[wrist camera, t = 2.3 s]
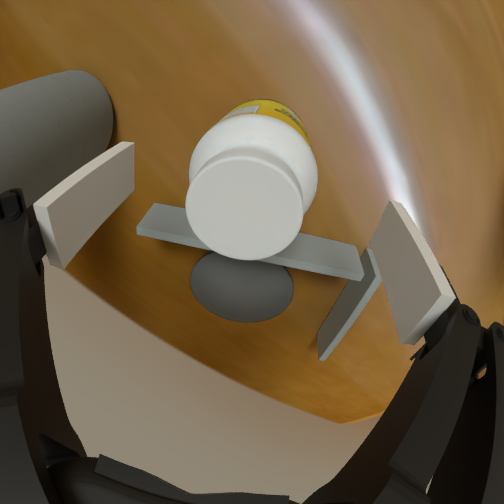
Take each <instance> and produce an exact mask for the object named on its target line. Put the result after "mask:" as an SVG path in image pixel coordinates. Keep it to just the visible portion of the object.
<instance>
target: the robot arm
mask: <svg viewBox="0 0 504 504" xmlns="http://www.w3.org/2000/svg"><path fill="white" fill-rule="evenodd" d="M133 191H134V143H132V142H120V143H119V144H117V145H115V146H114V147H112V148H110V149H109V150H107V151H106V152H104V153H102V154H101V155H99V156H98V157H96V158H95V159H93V160H92V161H90V162H89V163H87V164H86V165H84V166H83V167H81V168H80V169H78V170H77V171H75V172H74V173H73V174H71V175H70V176H69V177H67V178H66V179H64V180H63V181H62V182H60V183H58V184H57V185H55V186H54V187H53V188H52V189H51V190H49V191H48V192H46V193H45V195H43V196H41V197H40V198H39V199H38V200H37V201H35V202H34V203H33V204H32V205H31V206H29V207H28V208H26V204H25V200H24V196H23V191H22V189H20V188H13V189H9V190H7V191H5V192H3V193H1V194H0V504H299V503H296V502H294V501H291V500H289V496H285V495H283V496H282V495H265V494H253V493H243V492H241V493H240V492H239V493H237V492H235V493H232V492H231V493H210V494H192V493H188V492H186V491H184V490H182V489H180V488H178V487H176V486H174V485H172V484H170V483H168V482H166V481H164V480H162V479H161V478H159V477H157V476H154V475H152V474H150V473H148V472H145V471H143V470H140V469H137V468H135V467H132V466H129V465H126V464H124V463H121V462H118V461H116V460H113V459H111V458H109V457H106V456H104V455H102V454H100V455H99V458H96V457H87V455H86V452H85V450H84V447H83V445H82V443H81V441H80V439H79V437H78V435H77V434H76V432H75V431H74V429H73V428H72V426H71V424H70V422H69V419H68V417H67V413H66V410H65V407H64V403H63V399H62V396H61V392H60V388H59V384H58V380H57V375H56V370H55V366H54V360H53V355H52V349H51V343H50V337H49V329H48V321H47V312H46V301H45V285H44V265H43V262H42V258H43V256H44V255H45V254H46V253H47V256H48V259H49V262H50V265H53V266H55V267H58V268H61V269H65V267H66V266H67V265H68V263H69V262H70V261H71V260H72V258H73V257H74V256H75V255H76V254H77V252H78V251H79V250H80V249H81V248H82V246H83V245H84V244H85V243H86V242H87V240H88V239H89V238H90V237H91V236H92V235H93V234H94V232H95V231H96V230H97V229H98V228H99V227H100V226H101V225H102V224H103V222H104V221H105V220H106V219H107V218H108V217H109V216H110V215H111V214H112V213H113V212H114V211H115V210H116V209H117V207H118V206H119V205H120V204H121V203H122V202H123V201H124V200H125V199H126V198H127V197H128V196H129V195H130V194H131V193H132V192H133ZM369 243H370V246H371V248H372V251H373V254H374V257H375V260H376V263H377V265H378V268H379V271H380V274H381V277H382V281H383V284H384V287H385V290H386V293H387V297H388V300H389V303H390V307H391V310H392V314H393V317H394V321H395V325H396V329H397V332H398V336H399V340H400V344H411V345H415V344H416V343H417V342H418V341H419V340H420V339H421V338H422V337H423V335H424V338H425V341H426V343H425V344H424V345H423V346H422V347H421V348H420V349H419V350H418V351H417V352H416V353H415V354H414V355H413V356H412V357H411V358H410V360H411V361H412V360H413V359H414V358H415V360H414V362H413V364H412V366H411V368H410V370H409V372H408V373H407V375H406V377H405V379H404V381H403V382H402V384H401V386H400V388H399V389H398V391H397V393H396V394H395V396H394V398H393V399H392V401H391V402H390V404H389V406H388V407H387V409H386V410H385V412H384V413H383V415H382V416H381V418H380V420H379V421H378V422H377V424H376V425H375V427H374V428H373V430H372V431H371V432H370V434H369V435H368V436H367V438H366V439H365V441H364V442H363V444H362V445H361V446H360V447H359V448H358V450H357V451H356V452H355V454H354V455H353V456H352V457H351V459H350V460H349V461H348V462H347V463H346V465H345V466H344V467H343V468H342V469H341V470H340V472H339V473H338V474H337V475H336V476H335V477H334V478H333V479H332V480H331V481H330V482H329V483H327V484H325V485H324V486H322V487H321V488H319V489H318V490H317V491H316V492H314V493H313V494H312V495H311V496H310V497H308V498H307V499H306V500H305V502H303V503H302V504H504V326H502V325H501V324H500V323H498V322H493V324H492V325H491V326H490V327H489V328H488V329H486V328H484V327H482V326H481V323H480V320H479V317H478V316H477V314H476V313H475V312H474V311H473V309H472V308H470V307H469V306H467V305H465V304H460V301H459V299H458V297H457V295H456V293H455V291H454V289H453V287H452V285H451V284H450V281H449V279H448V277H446V276H447V275H446V273H445V272H444V270H443V268H442V266H441V265H440V264H439V263H438V262H437V260H436V258H435V256H434V255H433V253H432V251H431V249H430V248H429V246H428V244H427V243H426V241H425V239H424V238H423V236H422V234H421V233H420V231H419V229H418V228H417V226H416V225H415V223H414V222H413V220H412V218H411V217H410V215H409V214H408V212H407V211H406V209H405V208H404V206H403V205H402V204H401V203H398V202H396V201H393V200H389V202H388V204H387V206H386V208H385V211H384V213H383V215H382V217H381V219H380V221H379V223H378V225H377V227H376V230H375V232H374V234H373V236H372V238H371V240H370V242H369ZM486 367H487V369H486V373H485V375H484V376H483V377H481V378H480V379H478V374H479V373H480V372H481V371H482V370H484V369H485V368H486ZM432 476H433V478H432ZM431 478H432V481H431V484H430V487H429V490H428V493H427V494H426V488H427V485H428V484H429V482H430V480H431Z"/></svg>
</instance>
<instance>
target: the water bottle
mask: <svg viewBox="0 0 504 504" xmlns="http://www.w3.org/2000/svg"><path fill="white" fill-rule="evenodd" d="M112 130H113V108H112V103H111V100H110V97H109V94H108V93H107V91H106V89H105V87H104V86H103V85H102V83H101V82H100V81H99V80H98V79H97V78H96V77H94V76H93V75H92V74H90V73H87V72H85V71H81V70H70V71H64V72H60V73H56V74H51V75H47V76H44V77H40V78H36V79H33V80H29V81H26V82H23V83H20V84H17V85H14V86H11V87H8V88H5V89H2V90H0V194H1V193H3V192H5V191H7V190H9V189H13V188H20V189H22V191H23V196H24V200H25V204H26V208H28V207H29V206H31V205H32V204H33V203H34V202H35V201H37V200H38V199H39V198H40V197H41V196H43V195H45V193H46V192H48V191H49V190H51V189H52V188H53V187H54V186H55V185H57V184H58V183H60V182H62V181H63V180H64V179H66V178H67V177H69V176H70V175H71V174H73V173H74V172H75V171H77V170H78V169H80V168H81V167H83V166H84V165H86V164H87V163H89V162H90V161H92V160H93V159H95V158H96V157H98V156H99V155H101V154H102V153H104V152H105V150H106V148H107V147H108V145H109V142H110V139H111V136H112Z"/></svg>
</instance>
